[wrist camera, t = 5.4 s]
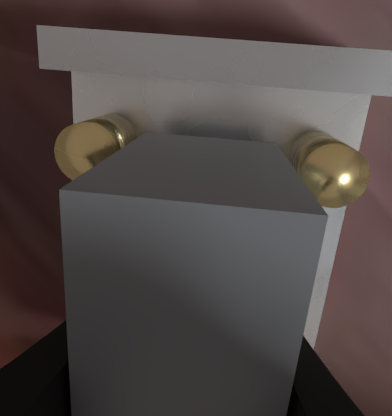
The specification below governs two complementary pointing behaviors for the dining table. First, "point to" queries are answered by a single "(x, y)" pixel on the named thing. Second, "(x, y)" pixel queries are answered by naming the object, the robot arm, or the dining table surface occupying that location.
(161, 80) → the pin tray
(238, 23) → the dining table surface
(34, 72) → the dining table surface
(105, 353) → the block
